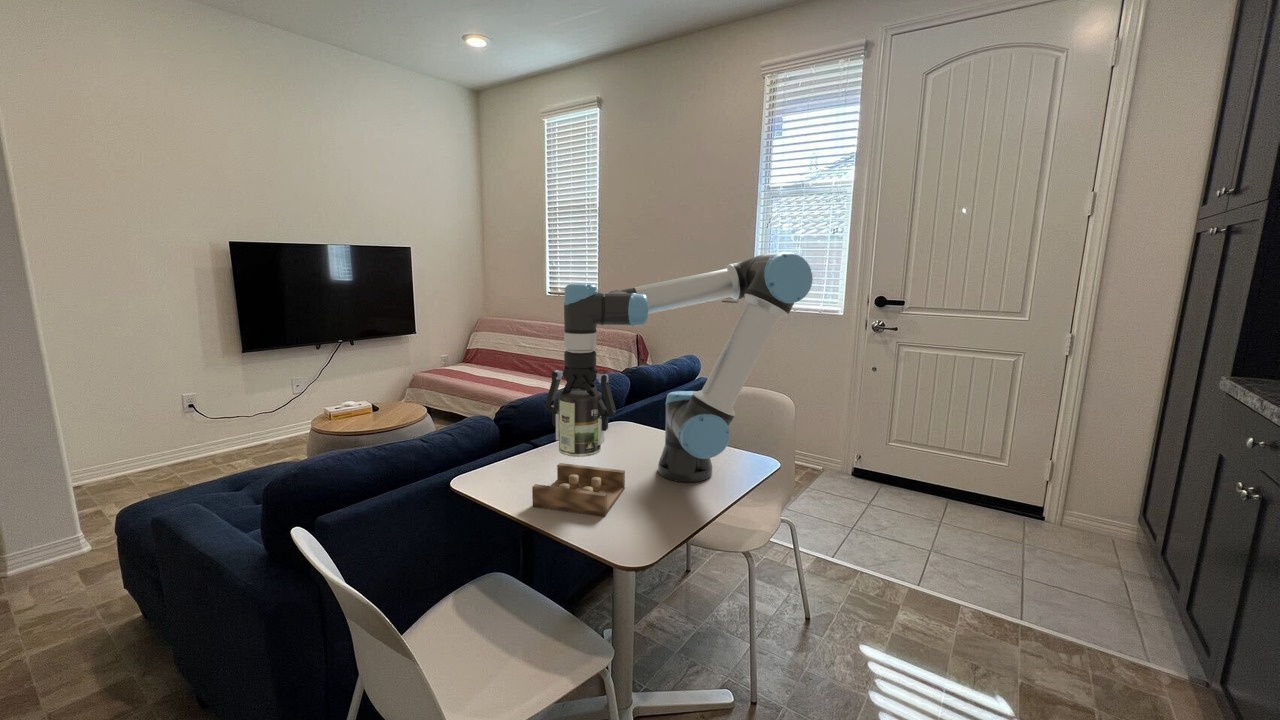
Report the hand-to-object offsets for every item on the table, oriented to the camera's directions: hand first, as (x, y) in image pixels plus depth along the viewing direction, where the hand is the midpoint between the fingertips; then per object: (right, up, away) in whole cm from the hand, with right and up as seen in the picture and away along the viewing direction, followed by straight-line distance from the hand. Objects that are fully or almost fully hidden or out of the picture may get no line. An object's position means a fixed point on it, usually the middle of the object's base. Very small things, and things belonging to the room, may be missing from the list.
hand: (580, 440), depth 126 cm
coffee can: (0, -2, 0) cm, 2 cm away
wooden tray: (0, -14, +2) cm, 15 cm away
